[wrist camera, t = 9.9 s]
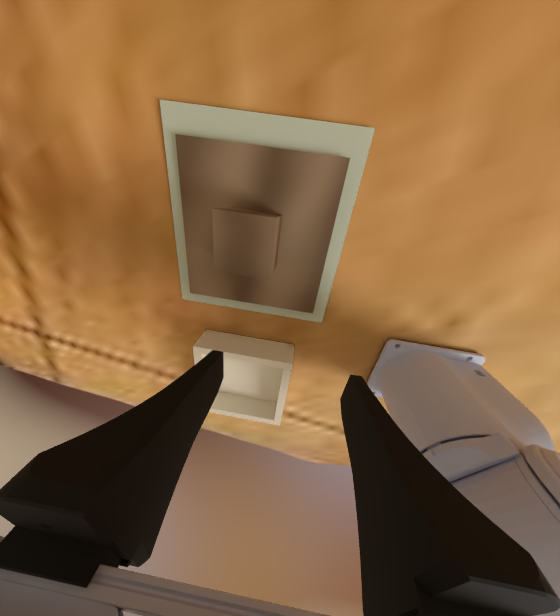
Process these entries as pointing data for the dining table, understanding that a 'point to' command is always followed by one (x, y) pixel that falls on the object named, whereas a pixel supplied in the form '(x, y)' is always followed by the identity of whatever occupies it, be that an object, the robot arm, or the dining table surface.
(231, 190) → the lid
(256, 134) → the beige flat square piece
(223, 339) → the white square tray
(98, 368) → the dining table surface
